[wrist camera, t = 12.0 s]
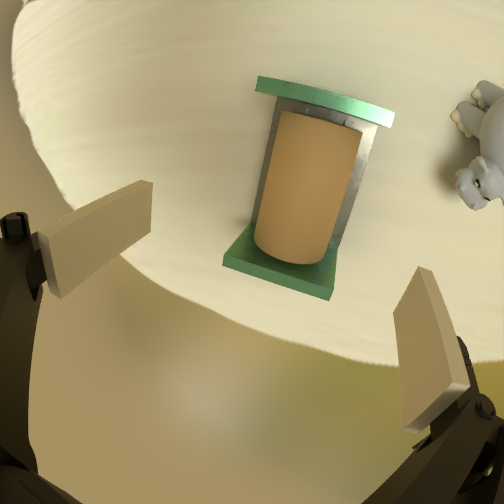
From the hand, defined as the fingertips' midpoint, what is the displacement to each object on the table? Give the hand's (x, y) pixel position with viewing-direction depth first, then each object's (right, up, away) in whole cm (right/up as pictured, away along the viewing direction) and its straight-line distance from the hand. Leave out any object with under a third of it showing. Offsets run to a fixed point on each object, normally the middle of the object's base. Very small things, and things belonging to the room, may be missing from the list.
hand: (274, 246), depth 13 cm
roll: (+5, +7, +15) cm, 17 cm away
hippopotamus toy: (+24, +11, +8) cm, 28 cm away
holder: (+5, +8, +16) cm, 19 cm away
